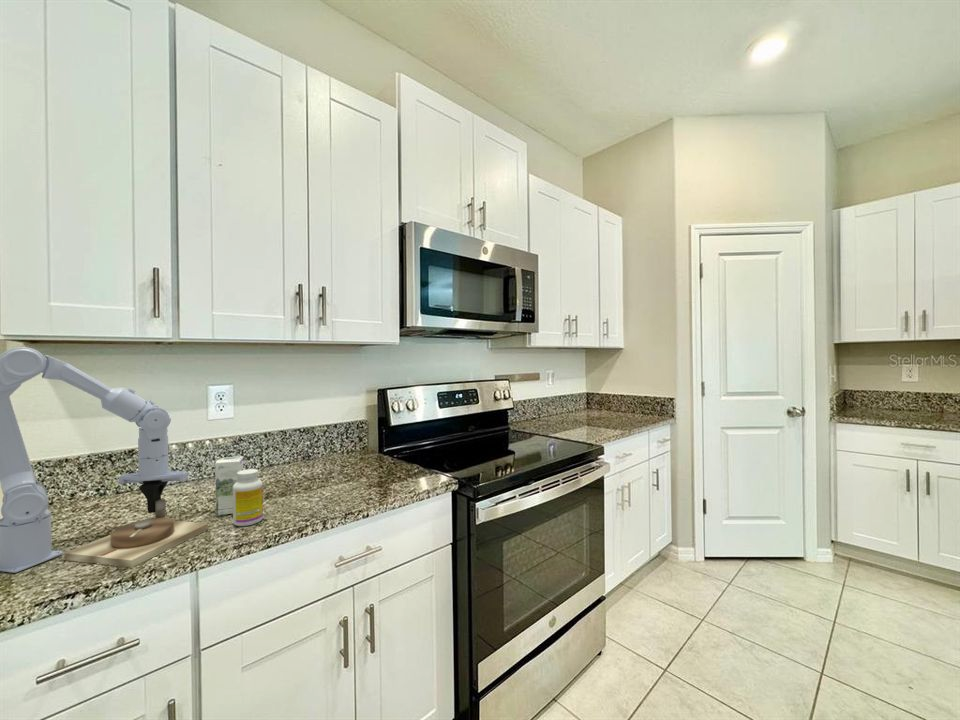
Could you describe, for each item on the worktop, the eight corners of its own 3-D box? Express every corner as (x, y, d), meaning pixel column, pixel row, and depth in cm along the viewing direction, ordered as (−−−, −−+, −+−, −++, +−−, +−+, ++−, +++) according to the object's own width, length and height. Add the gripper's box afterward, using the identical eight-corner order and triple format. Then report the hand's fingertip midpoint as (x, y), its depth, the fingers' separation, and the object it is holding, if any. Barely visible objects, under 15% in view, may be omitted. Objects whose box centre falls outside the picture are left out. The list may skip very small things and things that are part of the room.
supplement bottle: (267, 521, 103) (266, 471, 103) (238, 529, 98) (237, 476, 98) (257, 514, 108) (256, 466, 108) (229, 522, 103) (228, 471, 103)
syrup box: (244, 506, 114) (243, 455, 113) (240, 514, 108) (239, 460, 108) (220, 509, 111) (219, 457, 111) (215, 517, 106) (214, 462, 106)
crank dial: (162, 543, 87) (161, 519, 87) (98, 550, 84) (98, 526, 84) (188, 517, 102) (188, 496, 102) (135, 522, 98) (135, 501, 98)
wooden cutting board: (64, 560, 84) (64, 552, 84) (150, 524, 101) (150, 518, 101) (131, 567, 80) (131, 559, 80) (208, 529, 98) (208, 523, 98)
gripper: (195, 451, 104) (196, 503, 104) (133, 453, 102) (134, 506, 102) (177, 458, 97) (179, 514, 97) (111, 460, 95) (112, 517, 95)
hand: (154, 511), depth 99 cm, fingers closed, pressing on crank dial
